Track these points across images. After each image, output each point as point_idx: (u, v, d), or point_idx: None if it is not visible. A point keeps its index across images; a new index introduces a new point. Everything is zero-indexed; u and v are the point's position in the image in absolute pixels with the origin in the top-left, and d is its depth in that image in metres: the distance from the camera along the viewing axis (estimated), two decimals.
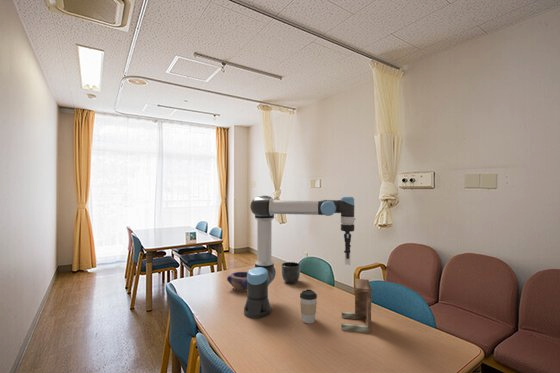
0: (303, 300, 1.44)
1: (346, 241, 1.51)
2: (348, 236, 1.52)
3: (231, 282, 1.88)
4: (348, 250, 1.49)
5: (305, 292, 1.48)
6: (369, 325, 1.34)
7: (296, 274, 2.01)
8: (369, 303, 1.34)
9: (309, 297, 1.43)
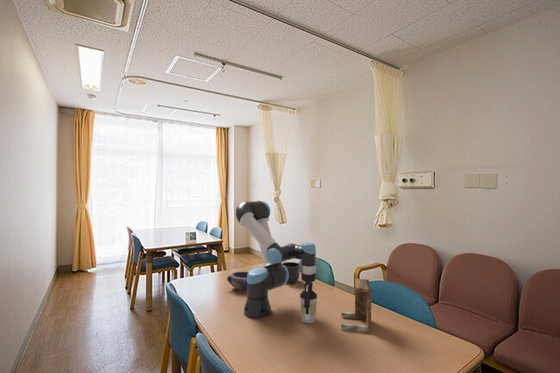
0: (303, 300, 1.44)
1: (305, 295, 1.40)
2: (307, 290, 1.40)
3: (231, 282, 1.88)
4: (307, 305, 1.39)
5: None
6: (369, 325, 1.34)
7: (296, 274, 2.01)
8: (369, 303, 1.34)
9: None
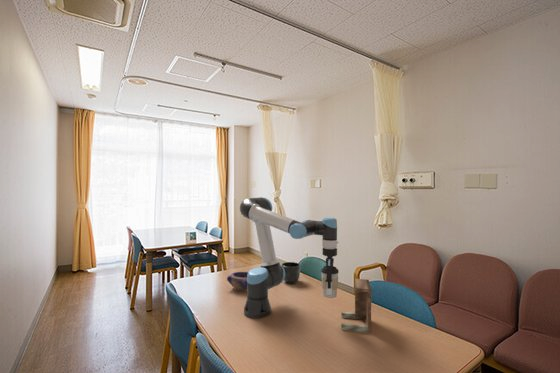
0: (325, 275, 1.43)
1: (327, 269, 1.39)
2: (329, 264, 1.39)
3: (231, 282, 1.88)
4: (329, 279, 1.38)
5: None
6: (369, 325, 1.34)
7: (296, 274, 2.01)
8: (369, 303, 1.34)
9: None
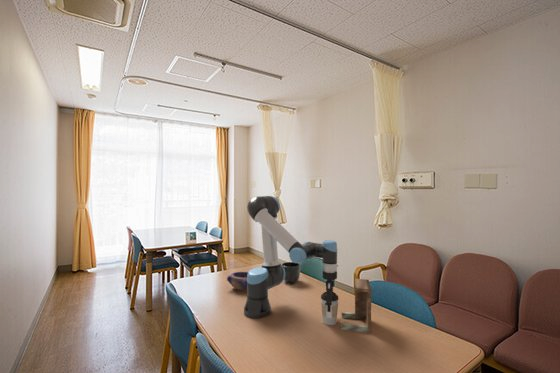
0: (325, 302, 1.42)
1: (327, 292, 1.38)
2: (329, 286, 1.39)
3: (231, 282, 1.88)
4: (329, 303, 1.36)
5: (326, 293, 1.46)
6: (369, 325, 1.34)
7: (296, 274, 2.01)
8: (369, 303, 1.34)
9: None
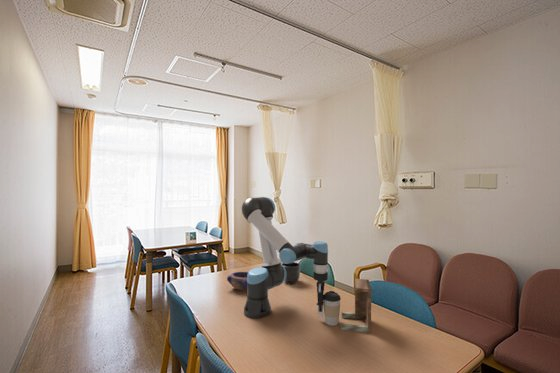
0: (327, 302, 1.42)
1: (318, 295, 1.42)
2: (320, 291, 1.41)
3: (231, 282, 1.88)
4: (320, 303, 1.43)
5: (328, 294, 1.46)
6: (369, 325, 1.34)
7: (296, 274, 2.01)
8: (369, 303, 1.34)
9: (333, 299, 1.41)
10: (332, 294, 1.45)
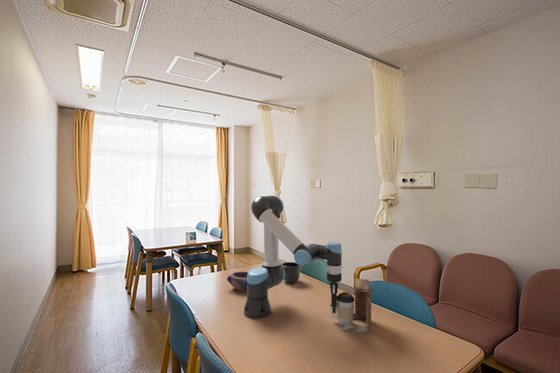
0: (341, 303, 1.40)
1: (332, 297, 1.40)
2: (334, 292, 1.39)
3: (231, 282, 1.88)
4: (334, 304, 1.42)
5: (342, 295, 1.44)
6: (369, 325, 1.34)
7: (296, 274, 2.01)
8: (369, 303, 1.34)
9: (347, 300, 1.39)
10: (346, 295, 1.44)
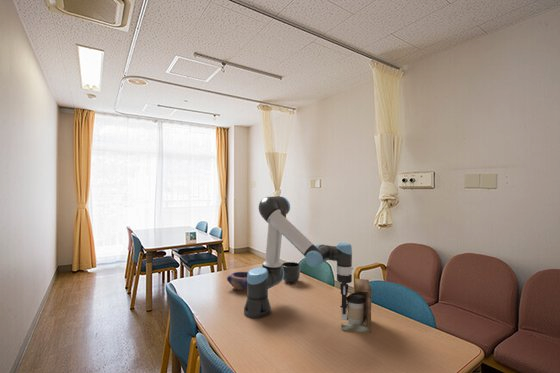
0: (351, 304, 1.39)
1: (342, 298, 1.39)
2: (345, 294, 1.38)
3: (231, 282, 1.88)
4: (344, 306, 1.40)
5: (352, 296, 1.43)
6: (369, 325, 1.34)
7: (296, 274, 2.01)
8: (369, 303, 1.34)
9: (358, 301, 1.38)
10: (356, 296, 1.42)
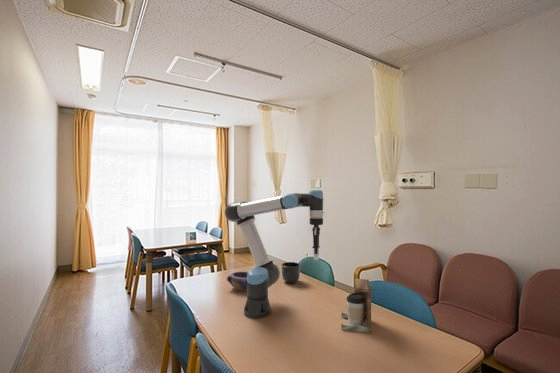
0: (351, 304, 1.39)
1: (314, 238, 1.53)
2: (316, 234, 1.51)
3: (231, 282, 1.88)
4: (316, 245, 1.54)
5: (352, 296, 1.43)
6: (369, 325, 1.34)
7: (296, 274, 2.01)
8: (369, 303, 1.34)
9: (358, 301, 1.38)
10: (356, 296, 1.42)
